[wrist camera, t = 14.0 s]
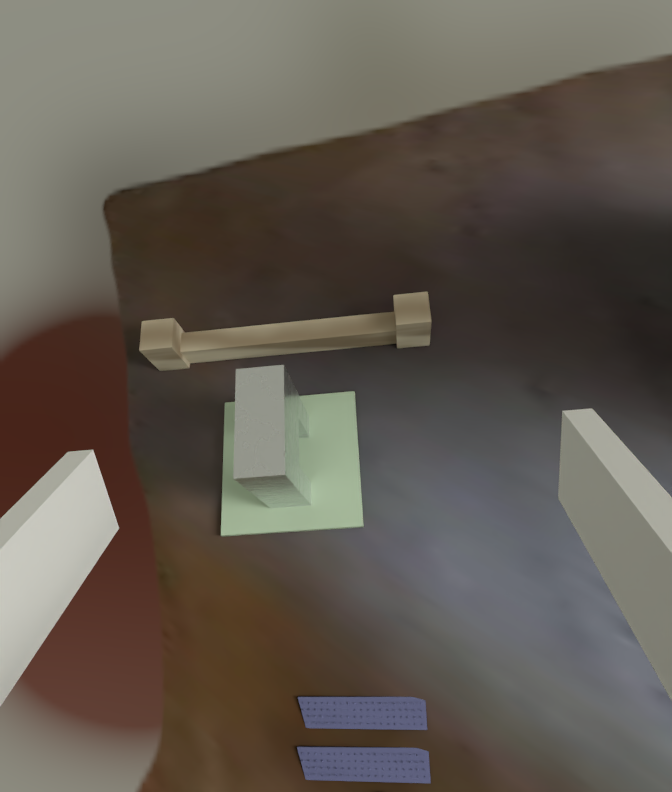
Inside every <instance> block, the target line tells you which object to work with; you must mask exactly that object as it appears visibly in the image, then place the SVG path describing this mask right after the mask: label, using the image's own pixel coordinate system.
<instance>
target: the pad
mask: <svg viewBox="0 0 672 792" xmlns="http://www.w3.org/2000/svg"><path fill="white" fill-rule="evenodd" d="M299 397H300V399H301V401H302V403H303V405H304V407H305V409H306V411H307V413H308V415H309V435H310V437H309V438H299V466H300V468H301V469H302V470H303V472H304V473H305V474H306V476H307V477H308V479H309V480H310V481H311V501H312V505H311V506H297V507H283V508H270V507H269V506H267V505H266V504H265V503H263V502H262V501H261V500H260V499H258V498H257V497H256V496H255V495H253V494H252V493H251V492H250V491H248V490H247V489H246V488H244V487H243V486H242V485H241V484H239V483H238V482H237V481H236V480H234V479H233V471H234V429H235V402H226V403H225V413H224V447H223V480H222V513H221V536H237V535H252V534H267V533H282V532H297V531H313V530H328V529H343V528H358V527H364V526H363V511H362V496H361V480H360V465H359V449H358V434H357V419H356V403H355V392H354V391H350V392H339V393H328V394H317V395H305V396H299Z"/></svg>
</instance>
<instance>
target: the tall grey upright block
mask: <svg viewBox="0 0 672 792" xmlns="http://www.w3.org/2000/svg"><path fill="white" fill-rule="evenodd" d="M309 437H310V435H309V415H308V413H307V411H306V409H305V407H304V405H303V403H302V401H301V399H300V397H299V395H298V393H297V391H296V389H295V387H294V384H293V382H292V380H291V378H290V376H289V374H288V372H287V370H286V368H285V366H284V365H275V366H265V367H254V368H243V369H236V386H235V429H234V471H233V479H234V480H236V481H237V482H238V483H239V484H241V485H242V486H243V487H244V488H246V489H247V490H248V491H250V492H251V493H252V494H253V495H255V496H256V497H257V498H258V499H260V500H261V501H262V502H263V503H265V504H266V505H267V506H269V507H270V508H283V507H297V506H311V505H312V501H311V481H310V480H309V479H308V477H307V476H306V474H305V473H304V472H303V470H302V469H301V468H300V466H299V438H309Z"/></svg>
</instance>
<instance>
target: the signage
mask: <svg viewBox="0 0 672 792" xmlns="http://www.w3.org/2000/svg"><path fill="white" fill-rule="evenodd" d="M298 700H299V704H300V708H301V711H302V715H303V718H304V722H305V726H306V728H334V729H399V730H427V719H426V704H425V700H422V699H418V698H414V697H298ZM297 749H298V753H299V757H300V760H301V764H302V768H303V771H304V775H305V779H306V780H330V781H365V782H401V783H431V782H430V767H429V752H428V751H425V750H422V749H418V748H388V747H309V746H298V747H297Z"/></svg>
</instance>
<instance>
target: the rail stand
mask: <svg viewBox="0 0 672 792" xmlns="http://www.w3.org/2000/svg"><path fill="white" fill-rule="evenodd" d="M393 300H394V312H385V313H375V314H365V315H355V316H346V317H336V318H326V319H316V320H306V321H296V322H286V323H276V324H266V325H257V326H247V327H237V328H227V329H217V330H207V331H197V332H187V333H185V332H184V331H183V329H182V328H181V327H180V325H179V324H178V323H177V322H176V320H175V319H174V318H168V319H158V320H149V321H142V326H141V337H140V347H139V351H140V352H141V353H142V354H143V355H144V356H145V357H146V358H147V359H148V360H149V361H150V362H151V363H152V364H153V365H154V366H155V367H156V368H157V369H158V370H159V371H165V370H176V369H186V368H190V363H200V362H211V361H221V360H231V359H242V358H252V357H263V356H273V355H284V354H294V353H304V352H315V351H325V350H336V349H346V348H357V347H367V346H378V345H388V344H397V348H407V347H418V346H428V345H430V334H431V322H432V321H431V314H430V306H429V298H428V292H418V293H408V294H399V295H393Z"/></svg>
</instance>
